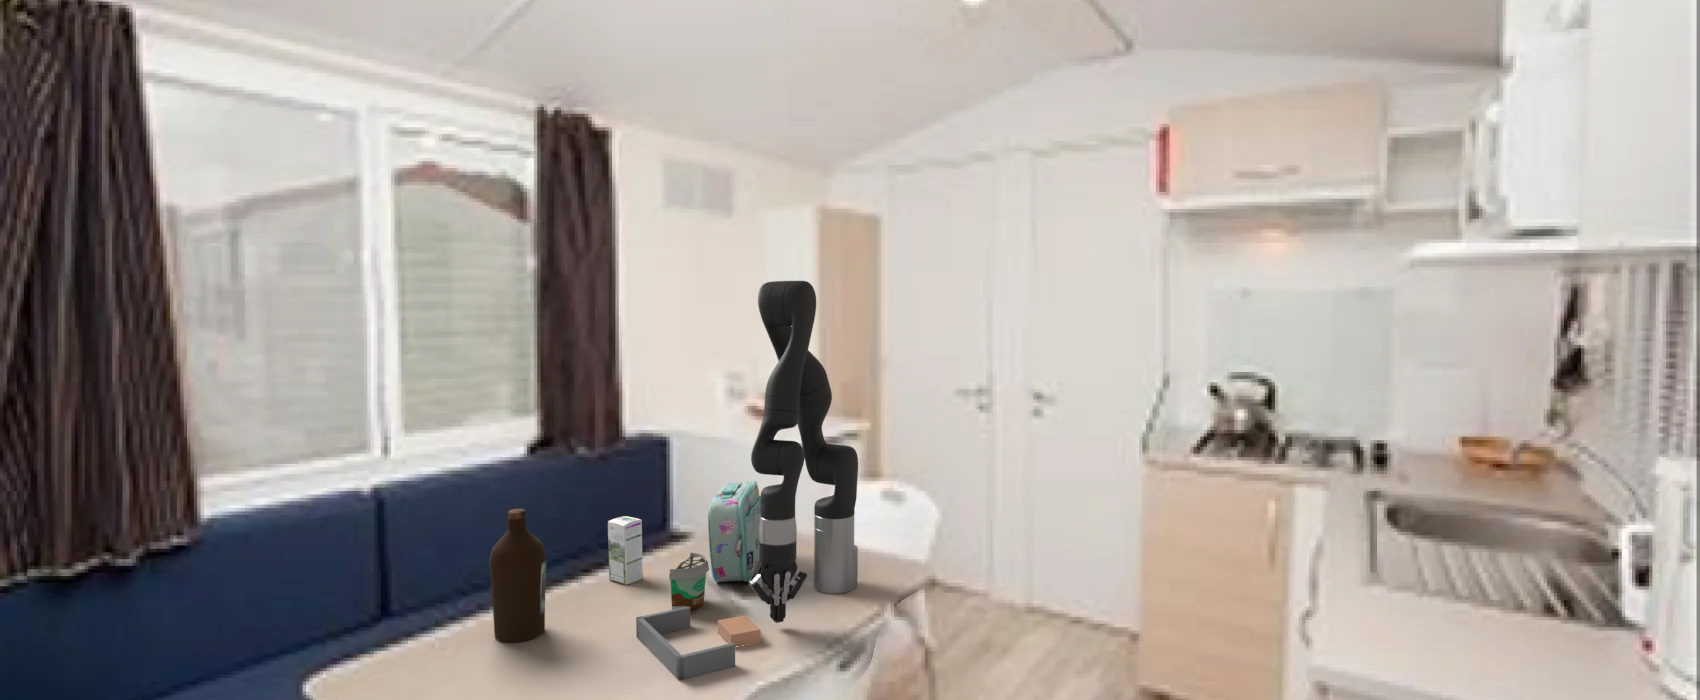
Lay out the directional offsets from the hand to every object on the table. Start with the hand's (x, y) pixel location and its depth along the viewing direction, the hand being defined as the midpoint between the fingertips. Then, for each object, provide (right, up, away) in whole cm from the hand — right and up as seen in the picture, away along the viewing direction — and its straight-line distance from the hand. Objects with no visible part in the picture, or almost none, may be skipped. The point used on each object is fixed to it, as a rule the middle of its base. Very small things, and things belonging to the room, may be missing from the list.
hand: (777, 621), depth 178 cm
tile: (-7, -2, -5) cm, 9 cm away
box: (-17, -2, -11) cm, 20 cm away
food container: (-19, -1, +12) cm, 22 cm away
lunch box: (-13, +1, +35) cm, 37 cm away
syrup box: (-38, +1, +28) cm, 47 cm away
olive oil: (-51, -2, -3) cm, 51 cm away
